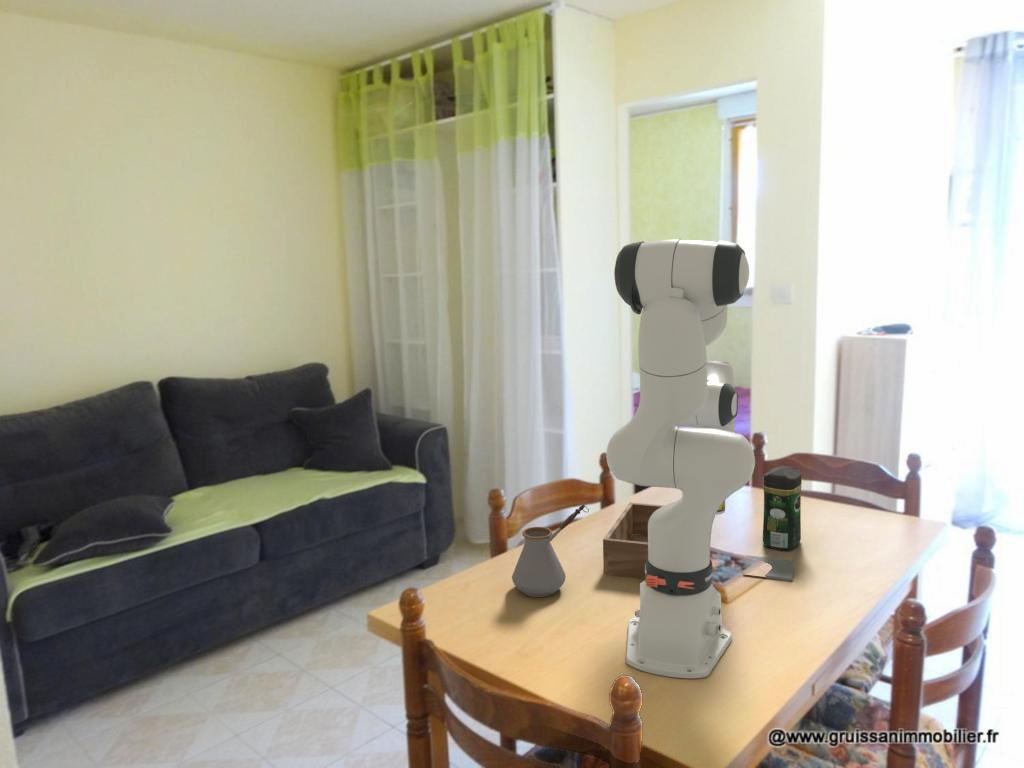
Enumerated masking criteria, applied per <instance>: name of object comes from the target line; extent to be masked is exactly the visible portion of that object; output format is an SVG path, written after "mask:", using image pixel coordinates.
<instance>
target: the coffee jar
mask: <svg viewBox="0 0 1024 768" xmlns="http://www.w3.org/2000/svg"><path fill="white" fill-rule="evenodd" d="M762 477H763V481H762V484H763V485H762V487H763V489H762V490H763V522H762V523H763V524H762V525H763V526H762V543H763V545H765V546H767V547H769V548H771V549H773V550H774V549H775V550H779V551H781V550H788V551H789V550H793V549H795V548H796V547H797V546H798V545H799V544H800V542H801V539H802V538H801V537H802V535H801V534H802V531H801V529H802V528H801V527H802V526H801V525H802V524H801V523H802V522H801V514H802V513H801V512H802V510H801V502H802V500H801V499H802V498H801V497H802V473H801V471H799V470H798V469H797V467H792V466H787V465H778V466H776V467H774V468H772V469H769V470H768V471H767V472H765V473H764V474H763V476H762Z"/></svg>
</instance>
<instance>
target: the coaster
mask: <svg viewBox="0 0 1024 768" xmlns="http://www.w3.org/2000/svg"><path fill="white" fill-rule="evenodd" d="M746 557H748V558H751V559H756V560H758V561H763V562H765V563H768V564H770V565H771V566H772V569H771V570H770V571H769V572H768V573H767V574H766V575H765V576H766V577H767V578H766V579H769V580H770V579H771V580H780V581H787V582H793V577H794V576H793V574H794V559H785V558H777V557H776V558H775V557H767V556H766V557H765V556H758V555H746Z"/></svg>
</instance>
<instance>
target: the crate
mask: <svg viewBox="0 0 1024 768" xmlns="http://www.w3.org/2000/svg"><path fill="white" fill-rule="evenodd" d="M663 506H665V505H663V504H662V505H661V504H651V503H638V502H628V505H627V506H626V507H625V509H624V510H623V511H622V513H621V514H620V515H619V517H618V518H617V520H616V521H615V523H614V524H613V525H612V526H611V528H610V529H609V530H608V532H607V534H606V535H605V536H604V537H603V539H602V555H603V556H602V559H603V562H602V563H603V565H602V566H603V574H604V575H609V576H610V575H611V576H618V577H624V578H625V577H626V578H634V579H642V580H643V579H644V580H645V564H646V558H647V556H648V542H645V541H644V542H643V541H636V540H631V539H632V537H633V536H636V535H637V536H645V537H648V522H649V519H650V517H651V515H652V514H653V513H654V512H655V511H656V510H657V509H659V508H661V507H663Z"/></svg>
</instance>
